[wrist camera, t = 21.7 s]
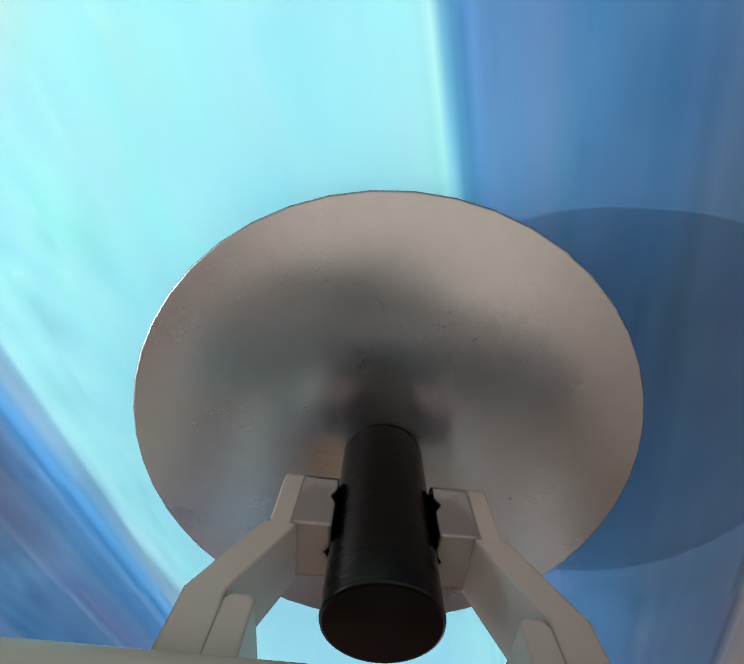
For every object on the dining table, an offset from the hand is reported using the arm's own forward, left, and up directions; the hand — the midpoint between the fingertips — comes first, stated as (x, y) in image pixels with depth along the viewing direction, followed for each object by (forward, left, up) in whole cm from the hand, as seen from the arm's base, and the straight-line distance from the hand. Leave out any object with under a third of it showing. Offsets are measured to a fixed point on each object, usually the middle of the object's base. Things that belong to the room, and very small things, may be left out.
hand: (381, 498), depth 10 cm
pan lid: (0, 0, -2) cm, 2 cm away
